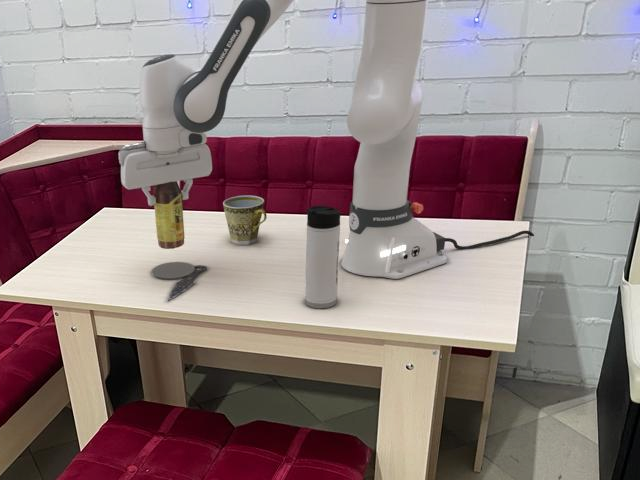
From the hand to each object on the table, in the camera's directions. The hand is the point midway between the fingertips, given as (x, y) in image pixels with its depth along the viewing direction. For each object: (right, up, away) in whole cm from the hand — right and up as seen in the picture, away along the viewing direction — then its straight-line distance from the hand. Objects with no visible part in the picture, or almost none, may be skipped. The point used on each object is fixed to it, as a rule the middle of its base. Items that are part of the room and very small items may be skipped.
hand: (168, 201), depth 166 cm
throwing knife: (+4, -18, +2) cm, 19 cm away
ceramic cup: (+21, -5, +20) cm, 30 cm away
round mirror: (+2, -14, +8) cm, 17 cm away
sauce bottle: (+1, -9, +5) cm, 10 cm away
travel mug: (+30, -24, -14) cm, 41 cm away
